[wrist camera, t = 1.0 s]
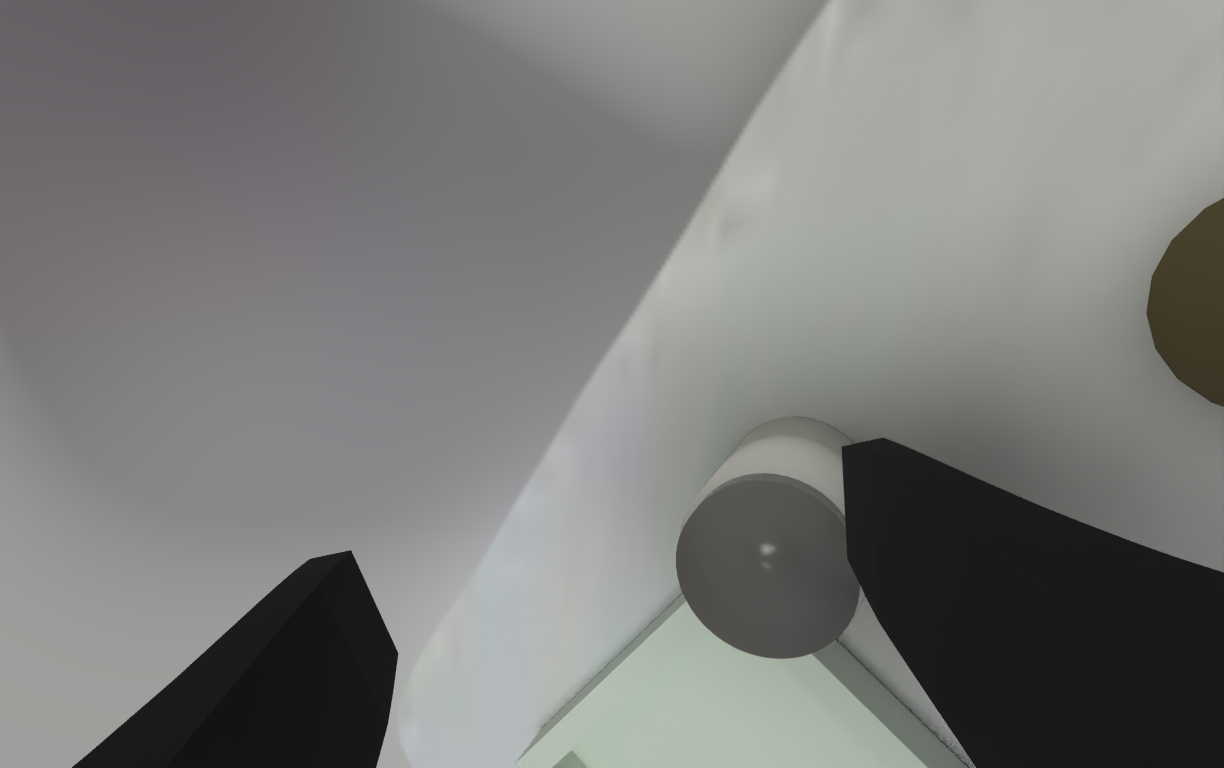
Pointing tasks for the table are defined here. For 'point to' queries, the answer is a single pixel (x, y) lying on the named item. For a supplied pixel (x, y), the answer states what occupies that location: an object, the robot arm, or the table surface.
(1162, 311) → the cork
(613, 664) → the tray
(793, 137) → the table surface
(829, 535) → the salt shaker
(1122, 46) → the table surface
